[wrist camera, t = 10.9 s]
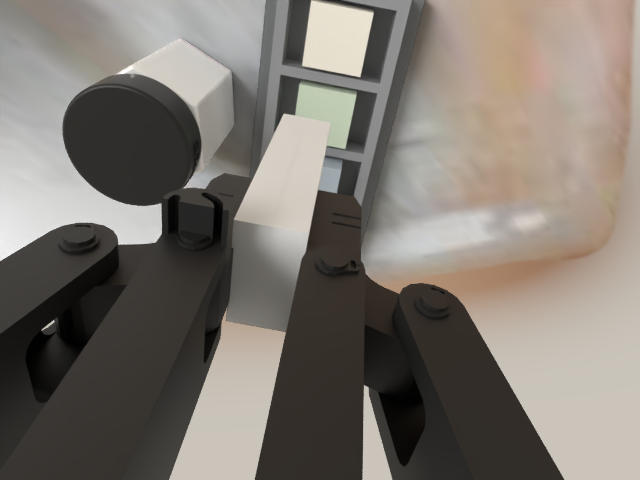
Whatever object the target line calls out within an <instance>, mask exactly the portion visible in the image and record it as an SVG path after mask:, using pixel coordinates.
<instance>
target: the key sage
mask: <svg viewBox="0 0 640 480" xmlns="http://www.w3.org/2000/svg"><path fill="white" fill-rule="evenodd" d="M356 95H357V89H352V88H347V87H341V86H336V85H331V84H326V83H321V82H316V81H311V80H305V79H302V80H301V82H300V84H299V91H298V98H297V105H296V112H295V116H299V117H304V118H310V119H315V120H320V121H325V122H330V123H331V125H330V131H329V136H328V142H327V146H332V147H337V148H343V149H345V148H346V143H347V139H348V134H349V129H350V124H351V119H352V115H353V110H354V105H355V100H356Z"/></svg>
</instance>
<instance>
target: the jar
mask: <svg viewBox="0 0 640 480" xmlns="http://www.w3.org/2000/svg"><path fill="white" fill-rule="evenodd" d="M233 127H234V105H233V86H232V72H231V71H230V70H229V69H228V68H226V67H224V66H223V65H221V64H220V63H218V62H217V61H215V60H214V59H212V58H211V57H209V56H208V55H206V54H205V53H203V52H202V51H200V50H199V49H197V48H195V47H194V46H192V45H191V44H189V43H188V42H186V41H185V40H183V39H181V38H180V39H177V40H176V41H174V42H172V43H170V44H168V45H166V46H165V47H163V48H161V49H159V50H157V51H156V52H154V53H152V54H150V55H148V56H147V57H145V58H143V59H141V60H139V61H137V62H136V63H134V64H132V65H130V66H129V67H127V68H125V69H124V70H122V71H120V72H119V73H117V74H115V75H112V76H109V77H107V78H105V79H103V80H101V81H99V82H97V83H95V84H94V85H92V86H90V87H88V88H86V89H85V90H83V91H81V92H80V93H79V94H78V95H76V96H75V97H74V99H73V100H72V101H71V102H70V104H69V106H68V107H67V110H66V112H65V115H64V119H63V140H64V144H65V148H66V151H67V153H68V156H69V158H70V160H71V162H72V163H73V165H74V167H75V168H76V170H77V171H78V172H79V174H80V175H81V176H82V177H83V178H84V179H85V180H86V181H87V182H88V183H89V184H90V185H91V186H92V187H94V188H95V189H96V190H98V191H99V192H101V193H102V194H104V195H105V196H107V197H109V198H111V199H114V200H116V201H119V202H122V203H125V204H130V205H137V206H149V205H156V204H159V203H162V201H161V198H162V197H164V196H165V195H166V194H167V193H169V192H172V191H175V190H178V189H182V188H183V187H184V186H185V185H186V184H187V183H188V181H189V179H191V177H192V176H193V175H194V174H197V173H199V172H201V171H203V170H204V168H205V167H206V165H207V164H208V162H209V161H210V160H211V158H212V157H213V155H214V154H215V152H216V151H217V150H218V148H219V147H220V145H221V144H222V142H223V141H224V140H225V138H226V137H227V135H228V134H229V132H230V131H231V130H232V128H233Z"/></svg>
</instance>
